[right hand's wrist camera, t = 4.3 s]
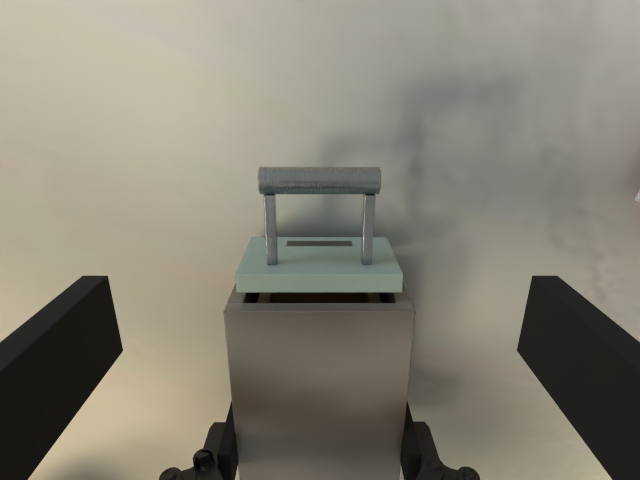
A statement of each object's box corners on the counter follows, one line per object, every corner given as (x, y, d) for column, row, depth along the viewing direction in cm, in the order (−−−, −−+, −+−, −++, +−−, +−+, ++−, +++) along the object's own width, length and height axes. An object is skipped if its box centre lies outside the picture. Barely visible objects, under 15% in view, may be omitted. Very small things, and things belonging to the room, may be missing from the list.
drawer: (246, 154, 27) (226, 172, 21) (392, 154, 27) (412, 172, 21) (261, 388, 33) (249, 450, 28) (377, 388, 33) (389, 450, 28)
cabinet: (247, 254, 30) (223, 311, 23) (391, 254, 30) (415, 311, 23) (257, 409, 35) (240, 496, 28) (381, 409, 35) (397, 496, 28)
